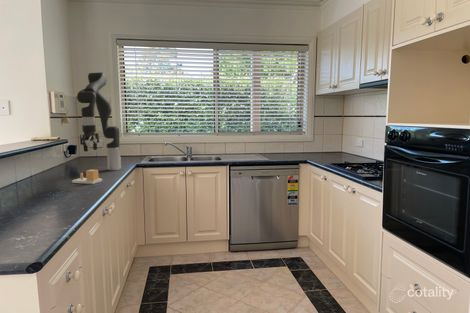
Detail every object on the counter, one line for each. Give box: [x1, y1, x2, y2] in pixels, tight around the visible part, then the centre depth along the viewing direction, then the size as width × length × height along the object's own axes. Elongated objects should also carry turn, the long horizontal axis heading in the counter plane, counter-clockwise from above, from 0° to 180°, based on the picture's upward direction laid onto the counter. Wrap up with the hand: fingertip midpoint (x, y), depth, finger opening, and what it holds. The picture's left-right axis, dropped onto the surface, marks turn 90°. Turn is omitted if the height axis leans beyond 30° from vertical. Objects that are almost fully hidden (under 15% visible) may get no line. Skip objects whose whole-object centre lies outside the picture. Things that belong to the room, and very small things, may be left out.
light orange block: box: [85, 169, 100, 181], centre depth 202 cm, size 5×5×6 cm
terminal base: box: [71, 172, 103, 185], centre depth 203 cm, size 9×15×6 cm, turn 76°
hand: (90, 150), depth 200 cm, fingers open, 8 cm apart
